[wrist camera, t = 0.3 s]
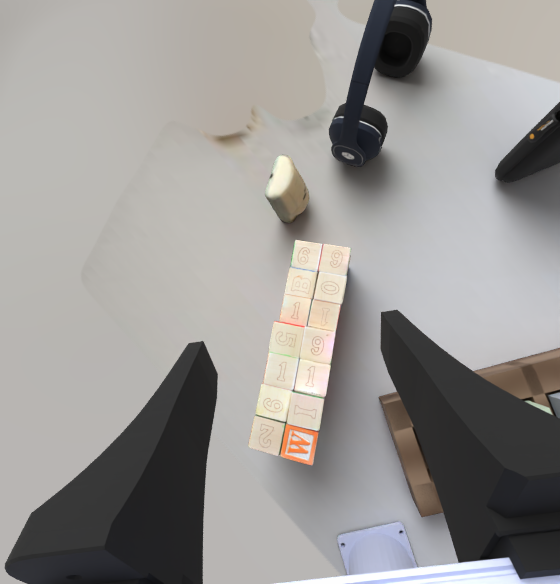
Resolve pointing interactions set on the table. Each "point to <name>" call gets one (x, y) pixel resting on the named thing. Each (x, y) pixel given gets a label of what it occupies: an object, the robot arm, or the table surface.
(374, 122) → the headphones
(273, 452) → the stack of blocks
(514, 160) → the carrying case or bag
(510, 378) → the key console
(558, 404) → the slate grey key
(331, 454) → the table surface
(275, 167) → the cream rounded block
